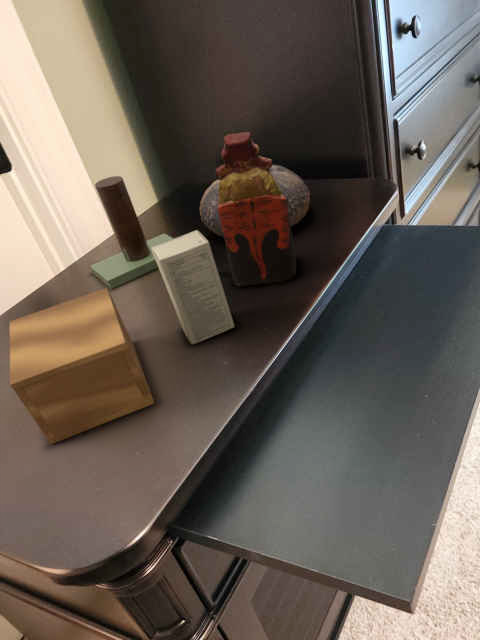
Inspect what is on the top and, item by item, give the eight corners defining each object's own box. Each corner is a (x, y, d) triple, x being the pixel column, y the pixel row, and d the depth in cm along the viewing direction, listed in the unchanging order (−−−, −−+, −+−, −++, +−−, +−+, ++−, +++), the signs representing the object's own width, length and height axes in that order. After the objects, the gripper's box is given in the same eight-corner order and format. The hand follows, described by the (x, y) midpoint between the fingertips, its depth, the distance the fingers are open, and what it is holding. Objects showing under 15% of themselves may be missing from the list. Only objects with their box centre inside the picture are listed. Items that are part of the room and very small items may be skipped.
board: (111, 289, 82) (107, 280, 81) (93, 274, 87) (89, 265, 86) (188, 253, 87) (185, 245, 86) (167, 241, 92) (164, 233, 91)
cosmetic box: (224, 313, 71) (199, 228, 63) (236, 328, 68) (210, 240, 60) (181, 330, 69) (149, 245, 61) (190, 346, 66) (158, 259, 58)
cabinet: (44, 377, 66) (9, 321, 61) (133, 344, 69) (107, 287, 63) (51, 444, 56) (9, 384, 51) (154, 403, 59) (125, 342, 53)
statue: (302, 256, 80) (277, 112, 66) (298, 283, 74) (270, 131, 60) (225, 265, 81) (187, 126, 68) (216, 291, 76) (171, 146, 62)
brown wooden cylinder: (121, 262, 85) (89, 188, 77) (131, 250, 88) (102, 177, 80) (144, 260, 84) (115, 185, 76) (154, 248, 87) (126, 174, 79)
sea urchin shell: (237, 196, 101) (233, 141, 94) (326, 217, 95) (329, 160, 88) (182, 239, 89) (172, 180, 82) (280, 266, 84) (279, 205, 76)
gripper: (-121, -3, 55) (-26, 167, 66) (-148, -2, 45) (-32, 197, 57) (-46, -18, 56) (33, 151, 68) (-57, -20, 47) (38, 177, 58)
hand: (4, 171), depth 62 cm, fingers closed
